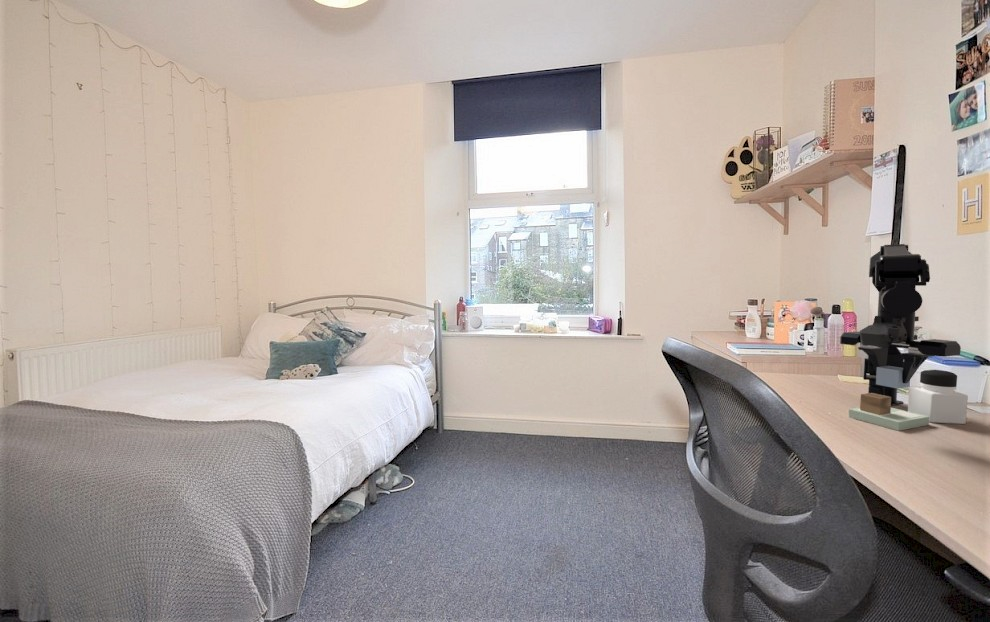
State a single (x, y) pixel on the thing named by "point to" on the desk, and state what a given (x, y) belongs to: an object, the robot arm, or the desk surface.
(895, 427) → the baseplate
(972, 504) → the desk surface
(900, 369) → the slate block
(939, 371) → the medicine bottle
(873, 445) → the desk surface
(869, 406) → the walnut cube
